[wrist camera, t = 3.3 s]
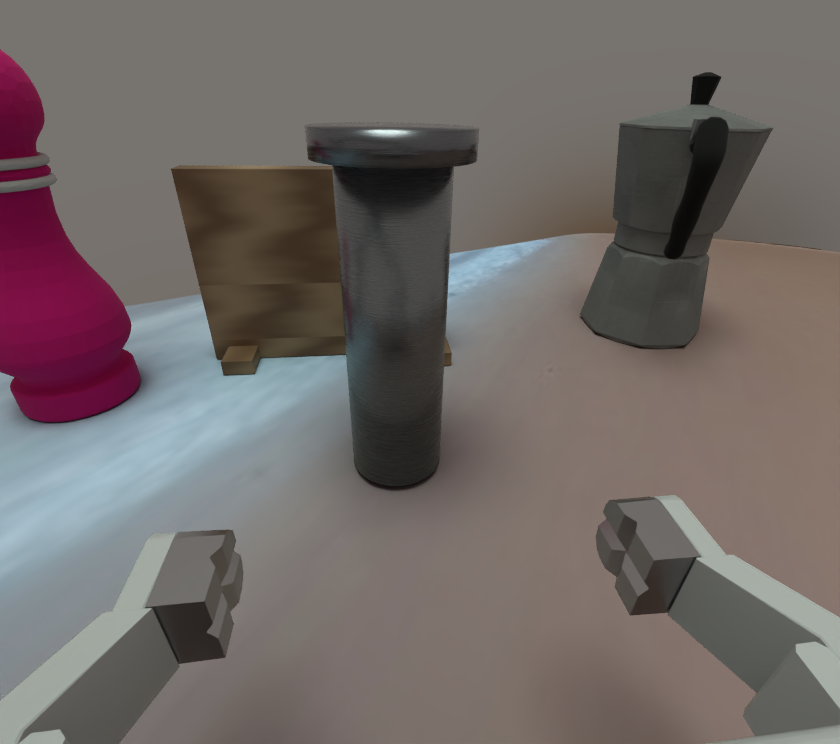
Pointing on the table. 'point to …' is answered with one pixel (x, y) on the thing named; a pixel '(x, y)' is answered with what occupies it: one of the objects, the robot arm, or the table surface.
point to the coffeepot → (669, 218)
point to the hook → (394, 282)
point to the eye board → (266, 260)
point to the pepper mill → (50, 283)
